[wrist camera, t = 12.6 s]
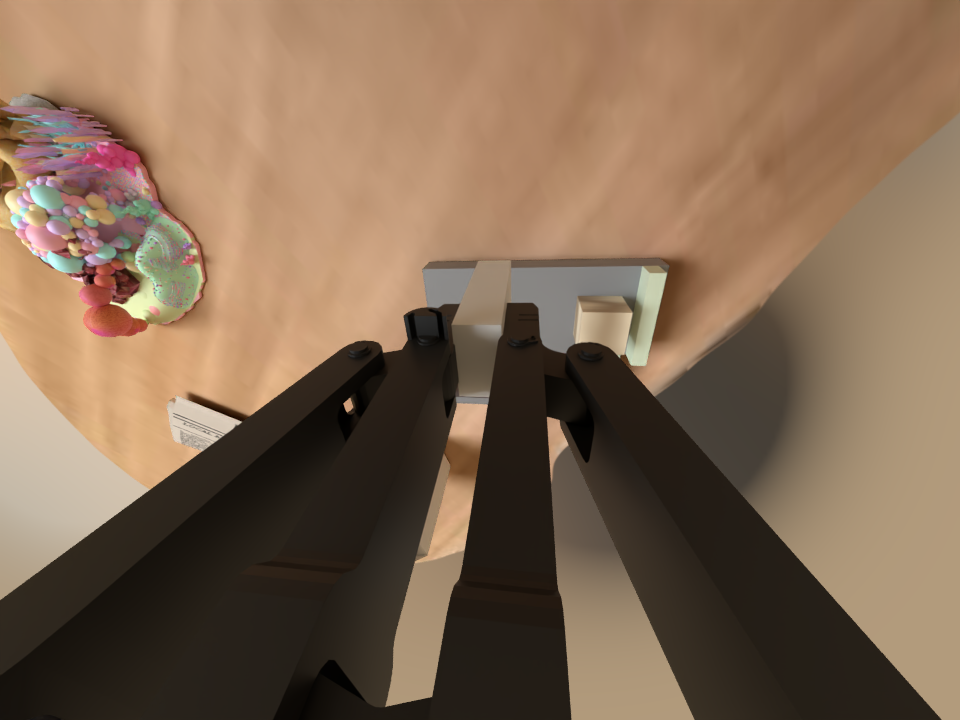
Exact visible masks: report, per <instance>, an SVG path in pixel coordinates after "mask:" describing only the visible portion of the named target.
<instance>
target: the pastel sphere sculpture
mask: <svg viewBox="0 0 960 720" xmlns="http://www.w3.org/2000/svg"><path fill="white" fill-rule="evenodd" d="M60 108H61V109H64V110H65V111H60V110H58V109H57V108H56V107H54V106H53V105H52V104H51V103H50V102H48V101H46V100H44V99H41V98H38V97H34V96H31V95H28V94H22V95H21V97H20V98H18V97H13V98H12V100H11V101H10V102H9V105H8V104H7V103H5V102H4V101H2V100H1V99H0V227H1V228H3V229H6V230H9V231H11V232H14V233H16V235H17V236H18V237H19V238H21V239H22V243H23V244H24V245H27V247H28V248H29V250H30V251H32V253H33V254H34V255H37V256H38V257H39V258H40V259H41V260H42V262H44V263H45V264H47V265H48V266H50V267H51V268H53V269H57V270H59V271H62V272H65V273H66V274H68V275H69V276H70V277H71V278H72V279H74V280H78V281H82V282H84V284H85V285H86V286H84V287H83V288H82V289H81V290H80V291H79V296H80V298H81V300H82V301H83V302H84V303H86V304H88V305H90V306H93V307H91V308H90V309H88V310H87V311H86V312H85V315H84V318H83V321H84V324H85V326H86V327H87V328H88V329H89V330H90V331H91V332H93V333H94V334H96V335H99V336H104V337H116V336H132V335H135V334H136V333H138V332H142V331H145V330H146V329H147V327H148V324H149V323H150V324H154V325H157V324H160V323H162V324H169V323H171V322H172V321H177V320H179V319H180V318H181V317H183V316H184V315H185V312H187V311H189V310H191V309H192V308H194V304H195V303H196V301H198V300H199V299H200V298H201V297H202V294H201V290H202V288H203V284H204V282H205V281H206V278H205V272H204V267H203V262H202V257H201V251H200V247H199V244H198V243H197V241H196V240H195V239H194V236H193V234H192V233H191V232H190V231H189V230H188V228H187V227H186V226H185V225H184V224H183V223H182V222H181V221H179V220H177V219H175V218H174V217H173V216H172V215H171V214H170V213H168V212H167V211H166V210H165V209H164V208H163V207H162V204H161V203H160V202H159V201H158V196H157V192H156V188H155V185H154V184H153V182H152V181H151V180H150V179H149V176H148V172H147V169H146V168H145V166H144V165H143V164H142V163H141V162H140V157H139V155H138V154H137V153H135V152H133V151H129V150H127V149H125V148H124V147H122V146H120V145H118V144H116V143H115V142H114V141H123V140H122V139H112V138H111V137H109V136H107V135H105V134H109V135H111V134H112V133H111V132H109V131H104V130H102V129H94V128H93V127H107V125H103V124H100V122H97V121H91V122H88V121H87V120H90V119H89V118H81V119H78V118H77V117H78V116H80V117H83V116H84V117H94V116H93V115H77V114H72V112H70V111H76V112H79V110H78V109H77V108H71V107H60ZM75 116H76V117H75ZM1 185H2V187H1ZM109 303H110V304H109ZM131 316H132V317H131ZM133 317H134V318H133Z"/></svg>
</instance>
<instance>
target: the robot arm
mask: <svg viewBox="0 0 960 720" xmlns="http://www.w3.org/2000/svg"><path fill="white" fill-rule="evenodd" d="M404 322H405V327H406V332H407V337H408V341H407V342H406V344H405V346H404V347H403V349H402V350H398V351H392V352H386V353H383V351H382V346H381V345H380V344H379V343H377V342H374V341H361V342H360V341H357V342H355V343H353V344H349V345H347V346H346V347H344V348H342V349H341V350H339V351H338V352H337V353H335V354H334V355H333V356H331V357H330V358H328V359H327V360H326V361H324V362H323V363H322V364H320V365H319V366H318V367H316V368H315V369H314V370H312V371H311V372H309V373H308V374H307V375H305V376H304V377H303V378H301V379H300V380H299V381H297V382H296V383H295V384H293V385H292V386H290V387H289V388H288V389H286V390H285V391H284V392H282V393H281V394H280V395H278V396H277V397H276V398H274V399H273V400H271V401H270V402H269V403H267V404H266V405H265V406H263V407H262V408H261V409H259V410H258V411H256V412H255V413H254V414H252V415H251V416H250V417H248V418H247V419H246V420H244V421H243V422H242V423H240V424H239V425H237V426H236V427H235V428H233V429H232V430H231V431H229V432H228V433H227V434H225V435H224V436H223V437H221V438H220V439H218V440H217V441H216V442H214V443H213V444H212V445H210V446H209V447H208V448H206V449H205V450H204V451H202V452H201V453H199V454H198V455H197V456H195V457H194V458H193V459H191V460H190V461H189V462H187V463H186V464H185V465H183V466H182V467H180V468H179V469H178V470H176V471H175V472H174V473H172V474H171V475H170V476H168V477H167V478H165V479H164V480H163V481H161V482H160V483H159V484H157V485H156V486H155V487H153V488H152V489H151V490H149V491H148V492H146V493H145V494H144V495H142V496H141V497H140V498H138V499H137V500H136V501H134V502H133V503H132V504H130V505H129V506H127V507H126V508H125V509H123V510H122V511H121V512H119V513H118V514H117V515H115V516H114V517H113V518H111V519H110V520H108V521H107V522H106V523H104V524H103V525H102V526H100V527H99V528H98V529H96V530H95V531H94V532H92V533H91V534H90V535H88V536H87V537H85V538H84V539H83V540H81V541H80V542H79V543H77V544H76V545H75V546H73V547H72V548H70V549H69V550H68V551H66V552H65V553H64V554H62V555H61V556H60V557H58V558H57V559H56V560H54V561H53V562H51V563H50V564H49V565H47V566H46V567H45V568H43V569H42V570H41V571H39V572H38V573H36V574H35V575H34V576H32V577H31V578H30V579H28V580H27V581H26V582H25V583H23V584H22V585H20V586H19V587H18V588H16V589H15V590H13V591H12V592H11V593H9V594H8V595H7V596H5V597H4V598H3V599H1V600H0V720H571V708H570V694H569V680H568V666H567V652H566V639H565V626H564V616H563V606H562V600H561V596H560V594H559V591H558V585H557V574H556V558H555V544H554V543H555V542H554V526H553V510H552V493H551V477H550V461H549V445H548V429H547V417H551V418H554V419H558V420H560V426H561V429H562V431H563V433H564V435H565V438H566V440H567V442H568V444H569V446H570V448H571V451H572V453H573V455H574V457H575V459H576V461H577V463H578V466H579V468H580V470H581V472H582V475H583V477H584V479H585V481H586V483H587V486H588V488H589V490H590V492H591V494H592V496H593V499H594V501H595V503H596V505H597V507H598V510H599V512H600V514H601V516H602V518H603V520H604V523H605V525H606V527H607V529H608V531H609V534H610V536H611V538H612V540H613V542H614V545H615V547H616V549H617V551H618V553H619V555H620V558H621V560H622V562H623V564H624V566H625V569H626V571H627V573H628V575H629V577H630V580H631V582H632V584H633V586H634V588H635V590H636V593H637V595H638V597H639V599H640V601H641V603H642V606H643V608H644V610H645V612H646V614H647V617H648V619H649V621H650V623H651V625H652V627H653V630H654V632H655V634H656V636H657V638H658V640H659V643H660V645H661V647H662V649H663V652H664V654H665V656H666V658H667V660H668V663H669V665H670V667H671V669H672V671H673V673H674V675H675V678H676V680H677V682H678V684H679V686H680V689H681V691H682V693H683V695H684V697H685V700H686V702H687V704H688V706H689V708H690V711H691V713H692V715H693V717H694V719H695V720H941V719H940V717H939V716H938V715H937V714H936V713H935V712H934V711H933V710H932V708H931V707H930V706H929V705H928V704H927V703H926V702H925V701H924V700H923V698H922V697H921V696H920V695H919V694H918V693H917V692H916V690H915V689H914V688H913V687H912V686H911V685H910V684H909V683H908V681H907V680H906V679H905V678H904V677H903V676H902V675H901V674H900V672H899V671H898V670H897V669H896V668H895V667H894V666H893V665H892V663H891V662H890V661H889V660H888V659H887V658H886V657H885V656H884V654H883V653H881V651H880V650H879V649H878V648H877V647H876V645H875V644H874V643H873V642H872V641H871V640H870V639H869V638H868V637H867V635H866V634H865V633H864V632H863V631H862V630H861V629H860V627H859V626H858V625H857V624H856V623H855V622H854V621H853V620H852V618H851V617H850V616H849V615H848V614H847V613H846V612H845V611H844V610H843V609H842V607H841V606H840V605H839V604H838V603H837V602H836V601H835V599H834V598H833V597H832V596H831V595H830V594H829V593H828V592H827V591H826V589H825V588H824V587H823V586H822V585H821V584H820V583H819V581H818V580H817V579H816V578H815V577H814V576H813V575H812V574H811V573H810V571H809V570H808V569H807V568H806V567H805V566H804V565H803V563H802V562H801V561H800V560H799V559H798V558H797V557H796V556H795V555H794V553H793V552H792V551H791V550H790V549H789V548H788V547H787V545H786V544H785V543H784V542H783V541H782V540H781V539H780V538H779V537H778V535H777V534H776V533H775V532H774V531H773V530H772V529H771V527H769V525H768V524H767V523H766V522H765V521H764V520H763V518H762V517H761V516H760V515H759V514H758V513H757V512H756V511H755V509H754V508H753V507H752V506H751V505H750V504H749V503H748V502H747V500H746V499H745V498H744V497H743V496H742V495H741V494H740V493H739V492H738V490H737V489H736V488H735V487H734V486H733V485H732V484H731V483H730V481H729V480H728V479H727V478H726V477H725V476H724V475H723V473H722V472H721V471H720V470H719V469H718V468H717V467H716V466H715V465H714V463H713V462H712V461H711V460H710V459H709V458H708V457H707V455H706V454H705V453H704V452H703V451H702V450H701V449H700V448H699V447H698V445H697V444H696V443H695V442H694V441H693V440H692V439H691V438H690V437H689V435H688V434H687V433H686V432H685V431H684V430H683V429H682V427H681V426H680V425H679V424H678V423H677V422H676V421H675V420H674V418H673V417H672V416H671V415H670V414H669V413H668V412H667V411H666V409H664V407H663V406H662V405H661V404H660V403H659V402H658V400H657V399H656V398H655V397H654V396H653V395H652V394H651V393H650V391H649V390H648V389H647V388H646V387H645V386H644V385H643V384H642V382H641V381H640V380H639V379H638V378H637V377H636V376H635V375H634V373H633V372H632V371H631V370H630V369H629V368H628V367H627V366H626V364H625V363H624V362H623V361H622V360H621V359H620V358H619V357H618V355H617V354H616V353H615V352H614V351H613V350H611V349H610V348H609V347H607V346H604V345H602V344H599V343H594V342H581V343H577V344H574V345H572V346H570V347H569V348H568V350H567V351H566V353H561V352H557V351H553V350H551V349H549V348H547V347H545V346H544V345H543V344H542V340H541V338H540V326H539V309H538V307H537V306H536V305H535V304H534V303H511V260H491V261H478V263H477V265H476V268H475V270H474V272H473V275H472V277H471V279H470V282H469V284H468V287H467V289H466V291H465V294H464V296H463V298H462V301H461V303H460V304H443V305H442V306H440V307H439V308H433V307H426V308H419V309H415V310H412V311H410V312H408V313H406V314H405V315H404ZM457 386H458V389H459V396H470V397H489V401H488V408H487V414H486V420H485V427H484V433H483V439H482V446H481V452H480V458H479V464H478V471H477V477H476V483H475V490H474V496H473V502H472V509H471V515H470V521H469V527H468V534H467V540H466V546H465V553H464V559H463V565H462V570H461V575H460V578H459V580H458V582H457V583H456V584H455V585H454V588H453V591H452V594H451V597H450V602H449V607H448V611H447V616H446V622H445V628H444V633H443V639H442V645H441V651H440V656H439V662H438V668H437V673H436V679H435V685H434V690H433V696H432V697H430V698H425V699H421V700H416V701H411V702H406V703H402V704H397V705H392V706H387V707H385V705H386V701H387V697H388V692H389V688H390V682H391V676H392V668H393V646H394V639H395V634H396V629H397V626H398V622H399V618H400V615H401V611H402V607H403V603H404V600H405V596H406V592H407V589H408V585H409V581H410V577H411V574H412V570H413V566H414V563H415V559H416V555H417V551H418V548H419V544H420V540H421V537H422V533H423V529H424V525H425V522H426V518H427V514H428V510H429V507H430V503H431V499H432V496H433V492H434V488H435V484H436V481H437V477H438V473H439V469H440V466H441V462H442V458H443V455H444V451H445V447H446V443H447V440H448V436H449V432H450V428H451V425H452V421H453V417H454V414H455V410H456V406H457V403H456V389H457ZM349 398H351V401H352V404H353V407H354V408H353V409H352V410H351V411H349V412H346V410H345V407H344V405H343V403H344V402H345V401H347V400H348V399H349Z"/></svg>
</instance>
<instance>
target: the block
mask: <svg viewBox="0 0 960 720" xmlns="http://www.w3.org/2000/svg"><path fill="white" fill-rule="evenodd" d="M632 314H633V312H632V311H631V309H630V308H629V306H628V305H627V303H626V302H625V300H624V299H623V297H622V296H577V303H576V312H575V321H574V331H573V336H574V340H575V344H577V343H581V342H594V343H599V344H602V345H604V346H607V347H609V348H610V349H611V350H613V351H614V352H615V353H616V354H617V355H624V354H625V349H626V344H627V339H628V334H629V329H630V324H631V319H632Z"/></svg>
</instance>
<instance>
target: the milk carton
mask: <svg viewBox="0 0 960 720" xmlns="http://www.w3.org/2000/svg"><path fill="white" fill-rule="evenodd" d="M450 467H451V466H450V464H449V462H448V460H447V458H446V456H445V454H444V455H443V458H442V462H441V466H440V469H439V473H438V477H437V481H436V484H435V488H434V492H433V496H432V499H431V503H430V507H429V510H428V514H427V518H426V522H425V525H424V529H423V533H422V537H421V540H420V544H419V548H418V551H417V555H416V559H415V561H416V560H419V559H421V558H423V557H425V556H427V555H428V551H429V548H430V544H431V540H432V536H433V532H434V528H435V525H436V521H437V517H438V513H439V509H440V505H441V502H442V498H443V494H444V490H445V486H446V483H447V479H448V475H449V471H450Z"/></svg>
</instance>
